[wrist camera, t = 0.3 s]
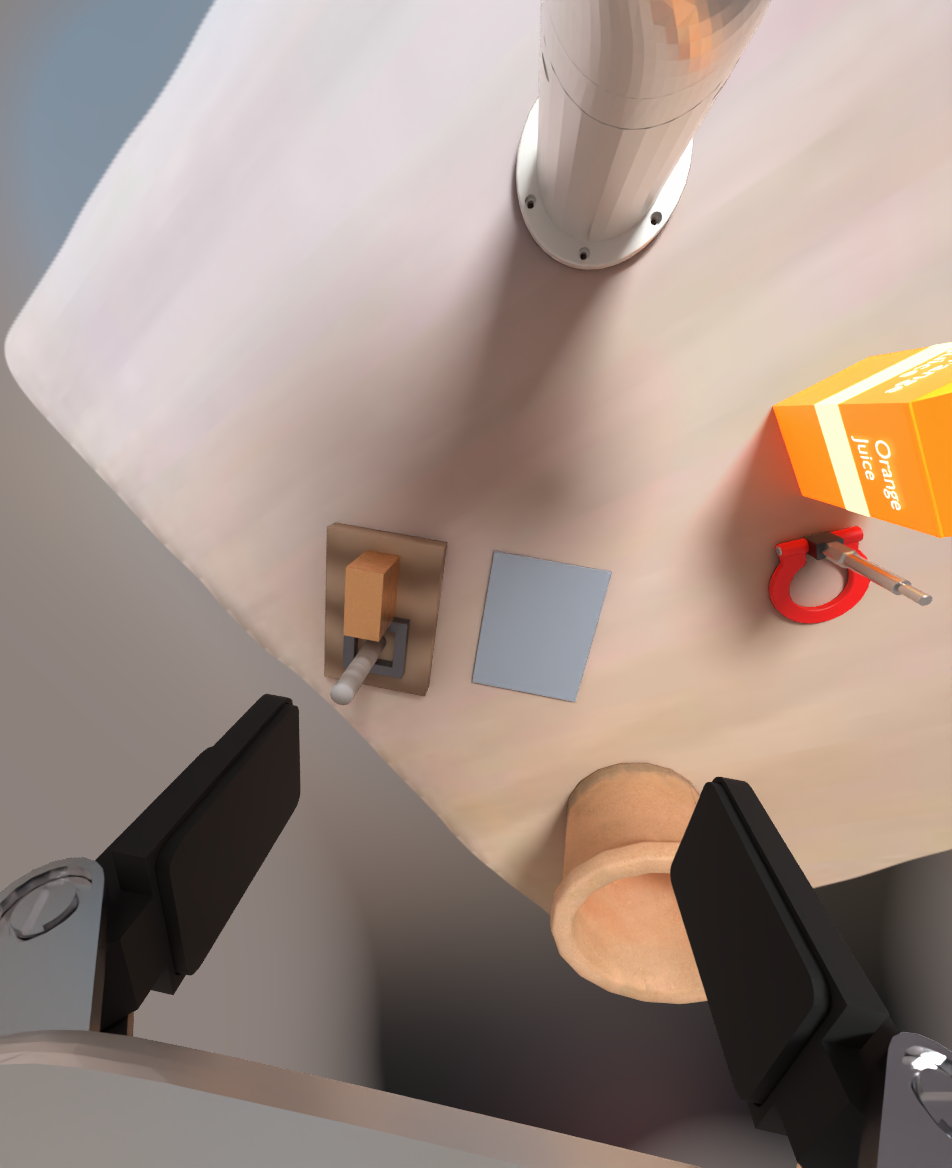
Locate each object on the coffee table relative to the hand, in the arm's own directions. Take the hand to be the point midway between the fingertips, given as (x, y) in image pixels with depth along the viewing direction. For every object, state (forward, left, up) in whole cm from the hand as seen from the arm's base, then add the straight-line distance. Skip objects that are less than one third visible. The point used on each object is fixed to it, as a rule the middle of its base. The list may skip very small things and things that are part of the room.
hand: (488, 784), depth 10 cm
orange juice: (-10, +25, -36) cm, 45 cm away
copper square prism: (+14, -13, -33) cm, 38 cm away
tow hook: (+3, +29, -36) cm, 46 cm away
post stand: (+15, -13, -35) cm, 40 cm away
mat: (+14, +4, -35) cm, 38 cm away
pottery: (+37, +21, -36) cm, 55 cm away
